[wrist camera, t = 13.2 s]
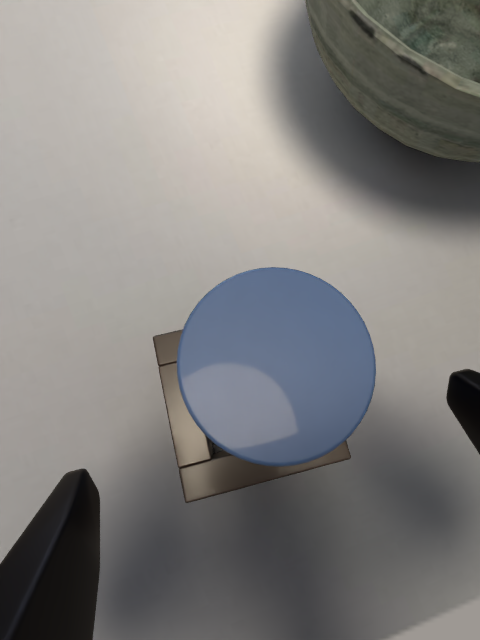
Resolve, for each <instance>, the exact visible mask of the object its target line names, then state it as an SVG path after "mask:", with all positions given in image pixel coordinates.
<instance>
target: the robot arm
mask: <svg viewBox="0 0 480 640" xmlns="http://www.w3.org/2000/svg"><path fill="white" fill-rule="evenodd" d="M446 398H447V403H448V405H449V407H450V409H451V410H452V412H453V414H454V415H455V417H456V418H457V420H458V421H459V423H460V424H461V426H462V428H463V429H464V431H465V432H466V434H467V435H468V437H469V438H470V440H471V442H472V443H473V445H474V446H475V448H476V449H477V451H478V452H479V454H480V373H478V372H476V371H473V370H470V369H464V370H460V371H456V372H453V373H452V374H451V375H450V378H449V384H448V390H447V397H446ZM99 571H100V497H99V492H98V489H97V487H96V486H95V484H94V482H93V480H92V478H91V477H90V475H89V473H88V471H87V470H86V469H79V470H75V471H71V472H68V473H66V474H65V475H64V476H63V478H62V479H61V480H60V482H59V483H58V485H57V486H56V487H55V489H54V490H53V492H52V493H51V494H50V496H49V497H48V498H47V500H46V501H45V503H44V504H43V505H42V507H41V508H40V510H39V511H38V512H37V514H36V515H35V517H34V518H33V519H32V521H31V522H30V523H29V525H28V526H27V528H26V529H25V530H24V532H23V533H22V535H21V536H20V537H19V539H18V540H17V541H16V543H15V544H14V546H13V547H12V548H11V550H10V551H9V553H8V554H7V555H6V557H5V558H4V560H3V561H2V562H1V564H0V640H92V639H93V630H94V620H95V611H96V602H97V592H98V583H99Z"/></svg>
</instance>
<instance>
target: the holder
mask: <svg viewBox="0 0 480 640" xmlns="http://www.w3.org/2000/svg"><path fill="white" fill-rule="evenodd" d="M182 331H183V329H182V330H178V331H174V332H169V333H165V334H161V335H157V336H154V337H153V342H154V347H155V352H156V357H157V362H158V365H159V373H160V378H161V383H162V388H163V393H164V398H165V403H166V408H167V413H168V418H169V423H170V428H171V434H172V439H173V444H174V449H175V454H176V459H177V464H178V467H179V473H180V478H181V483H182V488H183V494H184V499H185V502H186V503H189V502H193V501H197V500H200V499H204V498H208V497H211V496H215V495H219V494H222V493H226V492H230V491H233V490H237V489H241V488H245V487H248V486H252V485H256V484H259V483H263V482H267V481H270V480H274V479H278V478H281V477H285V476H289V475H292V474H296V473H300V472H303V471H307V470H311V469H314V468H318V467H322V466H325V465H329V464H333V463H337V462H340V461H344V460H348V459H350V458H351V455H350V452H349V449H348V445H347V442H346V440H345V441H344V442H343V443H342V444H341V445H339V446H338V447H337V448H335V449H334V450H333V451H331V452H329V453H327V454H326V455H324V456H322V457H320V458H318V459H315V460H312V461H310V462H307V463H303V464H298V465H293V466H282V467H279V466H265V465H260V464H254V463H251V462H248V461H245V460H242V459H239V458H237V457H235V456H233V455H231V454H229V453H227V452H226V451H221V452H217V453H214V450H213V446H212V441H211V440H210V439H209V438H208V437H207V436H206V435H205V434H204V433H203V432H202V431H201V429H200V428H199V427H198V426H197V425H196V423H195V421H194V420H193V418H192V417H191V415H190V414H189V412H188V410H187V407H186V405H185V403H184V401H183V398H182V395H181V391H180V388H179V383H178V377H177V352H178V346H179V341H180V337H181V334H182Z"/></svg>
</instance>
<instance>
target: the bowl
mask: <svg viewBox="0 0 480 640" xmlns="http://www.w3.org/2000/svg"><path fill="white" fill-rule="evenodd" d="M305 1H306V7H307V12H308V16H309V21H310V25H311V30H312V34H313V38H314V41H315V44H316V47H317V50H318V52H319V54H320V56H321V58H322V60H323V62H324V64H325V66H326V68H327V70H328V72H329V74H330V76H331V78H332V79H333V81H334V82H335V84H336V86H337V87H338V88H339V89H340V91H341V92H342V93H343V94H344V96H345V97H346V98H347V99H348V101H349V102H350V103H351V104H352V106H353V107H354V108H355V109H356V110H357V111H358V112H359V113H361V114H362V115H363V116H364V117H365V118H367V119H368V120H369V121H370V122H371V123H372V124H374V125H375V126H376V127H377V128H378V129H380V130H381V131H383V132H385V133H386V134H388V135H390V136H391V137H393V138H395V139H396V140H398V141H400V142H401V143H403V144H404V145H406V146H409V147H412V148H414V149H417V150H420V151H423V152H425V153H428V154H431V155H433V156H436V157H442V158H448V159H454V160H461V161H467V162H480V0H305Z"/></svg>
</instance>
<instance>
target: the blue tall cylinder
mask: <svg viewBox="0 0 480 640" xmlns="http://www.w3.org/2000/svg"><path fill="white" fill-rule="evenodd" d="M375 376H376V364H375V354H374V348H373V344H372V341H371V338H370V334H369V332H368V330H367V328H366V325H365V323H364V321H363V320H362V318H361V316H360V315H359V313H358V311H357V310H356V309H355V308H354V306H353V305H352V304H351V303H350V301H349V300H348V299H347V298H346V297H345V296H344V295H343V294H342V293H340V292H339V291H338V290H337V289H335V288H334V287H333V286H331V285H330V284H328V283H327V282H325V281H323V280H322V279H320V278H317V277H315V276H313V275H311V274H308V273H305V272H302V271H298V270H293V269H288V268H275V267H271V268H259V269H254V270H249V271H246V272H243V273H240V274H237V275H235V276H233V277H230V278H228V279H226V280H225V281H223V282H222V283H220V284H218V285H217V286H215V287H214V288H213V289H212V290H211V291H209V292H208V293H207V294H206V295H205V296H204V297H203V298H202V299H201V300H200V302H199V303H198V304H197V305H196V307H195V308H194V310H193V311H192V312H191V314H190V316H189V318H188V320H187V322H186V324H185V326H184V329H183V331H182V334H181V337H180V341H179V346H178V352H177V377H178V383H179V388H180V391H181V395H182V398H183V401H184V403H185V405H186V407H187V410H188V412H189V414H190V415H191V417H192V418H193V420H194V421H195V423H196V425H197V426H198V427H199V428H200V429H201V431H202V432H203V433H204V434H205V435H206V436H207V437H208V438H209V439H210V440H211V441H212V442H214V443H215V444H216V445H217V446H219V447H220V448H222V449H223V450H224V451H226V452H227V453H229V454H231V455H233V456H235V457H237V458H239V459H242V460H245V461H248V462H251V463H254V464H260V465H265V466H279V467H282V466H293V465H298V464H303V463H307V462H310V461H312V460H315V459H318V458H320V457H322V456H324V455H326V454H327V453H329V452H331V451H333V450H334V449H335V448H337V447H338V446H339V445H341V444H342V443H343V442H344V441H345V440H346V439H347V438H348V437H349V436H350V435H351V434H352V433H353V432H354V430H355V429H356V428H357V426H358V425H359V424H360V422H361V421H362V419H363V417H364V415H365V413H366V411H367V409H368V407H369V404H370V401H371V399H372V395H373V390H374V386H375Z"/></svg>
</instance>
